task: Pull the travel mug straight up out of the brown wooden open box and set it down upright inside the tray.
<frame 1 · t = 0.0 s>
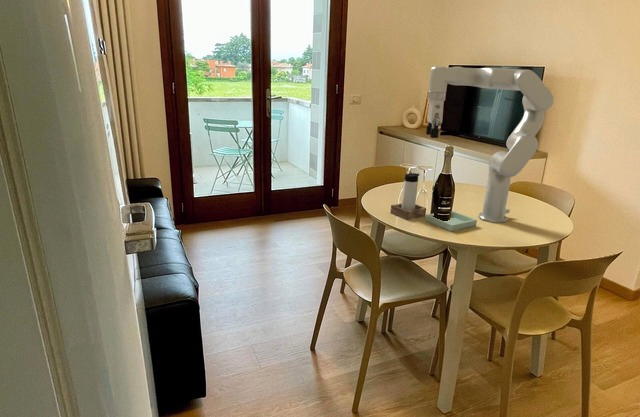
hand: (431, 136, 188), 37 cm above the table, tool pointing down, fingers open, 9 cm apart
travel mug: (407, 215, 199), resting in brown wooden open box
tray: (450, 223, 189), on the table
brown wooden open box: (407, 214, 199), on the table
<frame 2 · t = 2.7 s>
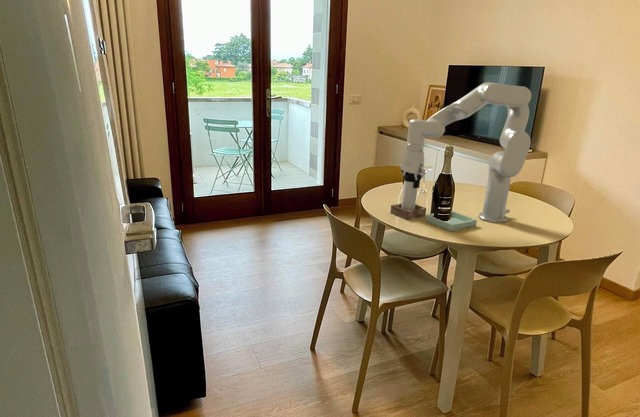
hand: (410, 185, 195), 14 cm above the table, tool pointing down, fingers closed on travel mug, 6 cm apart
travel mug: (407, 215, 199), resting in brown wooden open box, touching gripper
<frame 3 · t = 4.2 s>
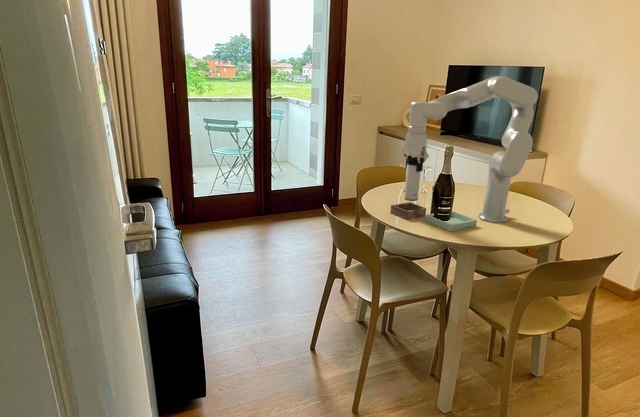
hand: (413, 169, 192), 22 cm above the table, tool pointing down, fingers closed on travel mug, 6 cm apart
travel mug: (411, 199, 197), point 7 cm above the table, touching gripper
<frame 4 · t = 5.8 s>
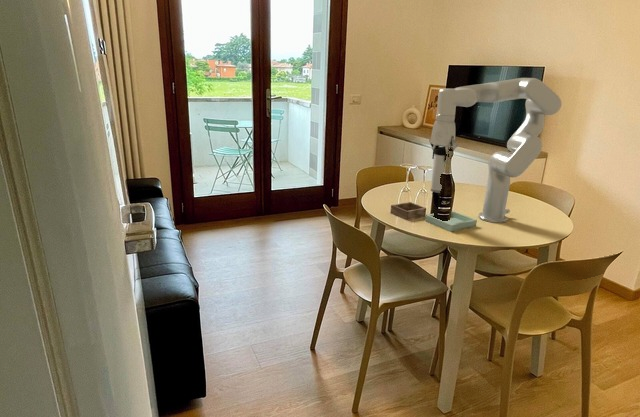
hand: (441, 160, 185), 28 cm above the table, tool pointing down, fingers closed on travel mug, 6 cm apart
travel mug: (438, 191, 189), point 14 cm above the table, touching gripper
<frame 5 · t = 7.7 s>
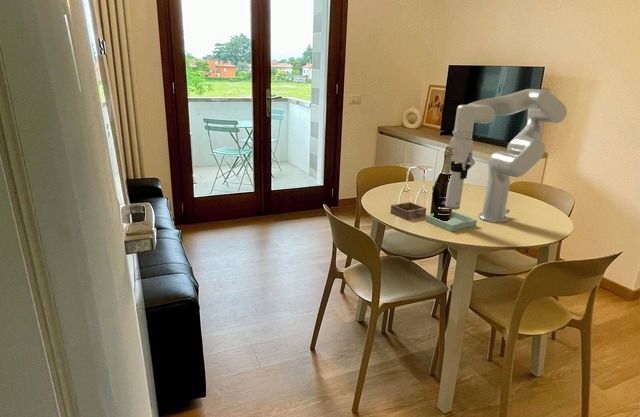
hand: (456, 176, 182), 22 cm above the table, tool pointing down, fingers closed on travel mug, 6 cm apart
travel mug: (452, 207, 187), point 8 cm above the table, touching gripper
when the fingers open (15 cm above the table, at t = 9.3 s): travel mug stays where it is, resting on tray.
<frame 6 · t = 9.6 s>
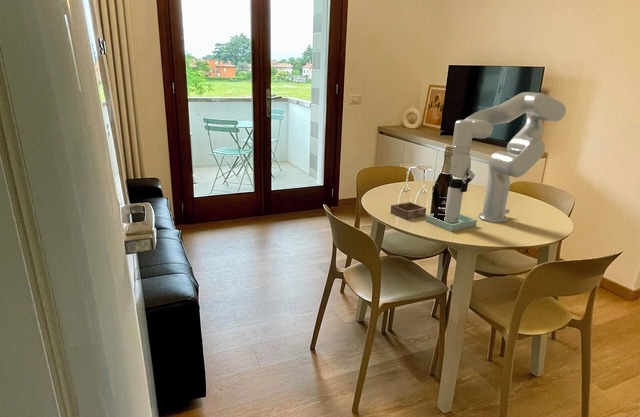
hand: (455, 189, 184), 16 cm above the table, tool pointing down, fingers open, 8 cm apart
travel mug: (451, 223, 189), resting on tray
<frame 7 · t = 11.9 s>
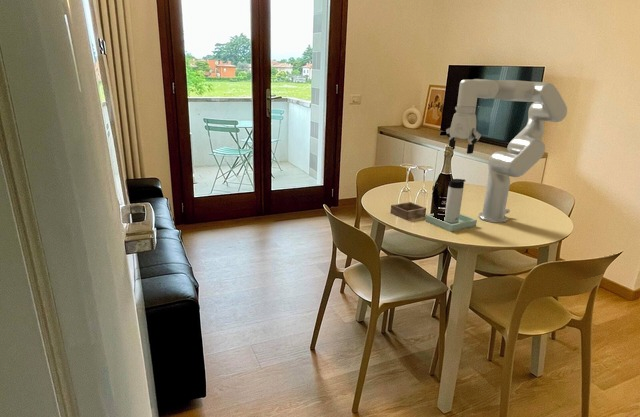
hand: (460, 151, 180), 32 cm above the table, tool pointing down, fingers open, 9 cm apart
nothing on the table moved.
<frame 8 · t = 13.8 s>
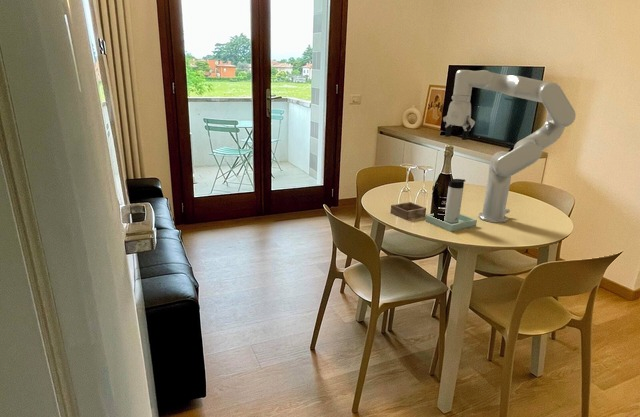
hand: (456, 138, 191), 36 cm above the table, tool pointing down, fingers open, 9 cm apart
nothing on the table moved.
at the end: travel mug inside the target area on the tray (0.4 cm from its centre), point 0.4 cm above the tray's base; travel mug tilted 0°; the gripper is holding nothing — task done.
